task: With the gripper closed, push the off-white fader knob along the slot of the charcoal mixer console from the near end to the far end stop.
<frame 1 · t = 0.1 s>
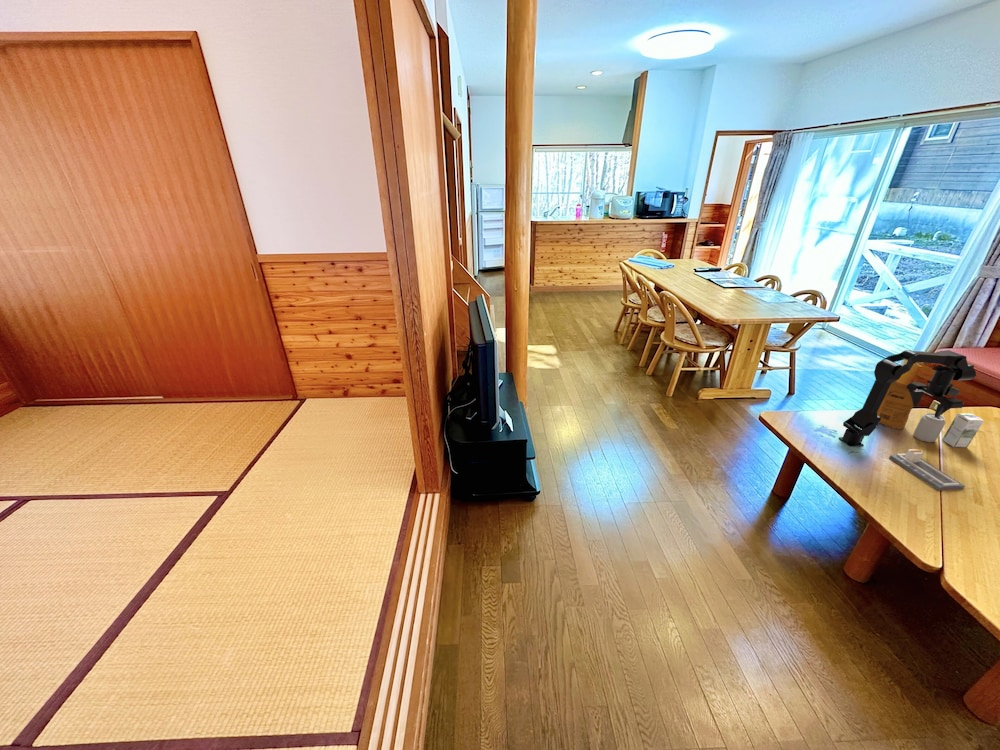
hand: (925, 411, 174), 15 cm above the table, fingers open, 9 cm apart
can: (923, 438, 180), on the table
fader knob: (913, 455, 164), point 4 cm above the table, slide at 0.0 cm
syrup box: (954, 444, 176), on the table
fader console: (924, 472, 160), on the table
coffee package: (886, 422, 193), on the table
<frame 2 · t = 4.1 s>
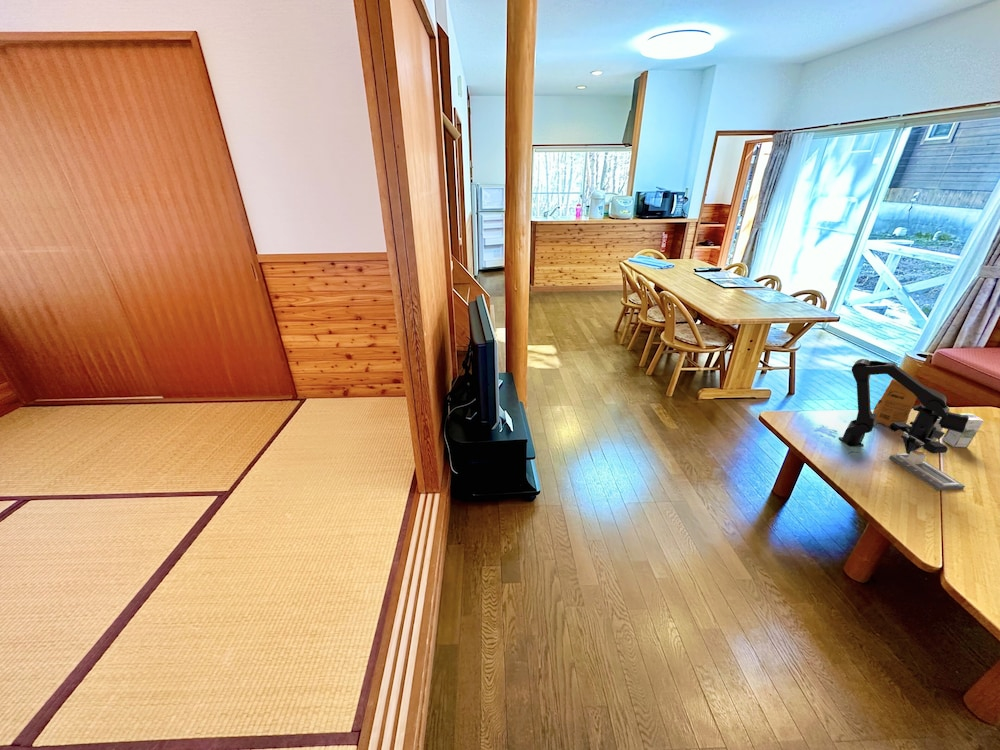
hand: (908, 453, 166), 3 cm above the table, fingers closed
fader knob: (916, 457, 162), point 4 cm above the table, slide at 1.2 cm, touching gripper
everything else where it was.
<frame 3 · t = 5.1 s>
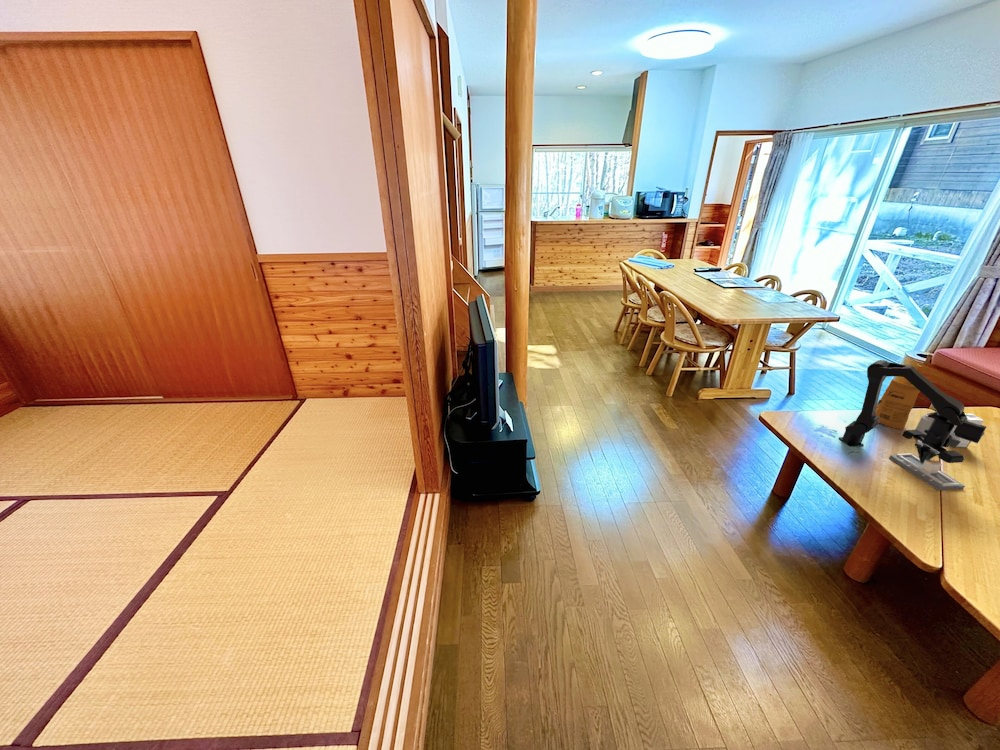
hand: (922, 462, 160), 3 cm above the table, fingers closed
fader knob: (931, 466, 157), point 4 cm above the table, slide at 7.1 cm, touching gripper
everything else where it was.
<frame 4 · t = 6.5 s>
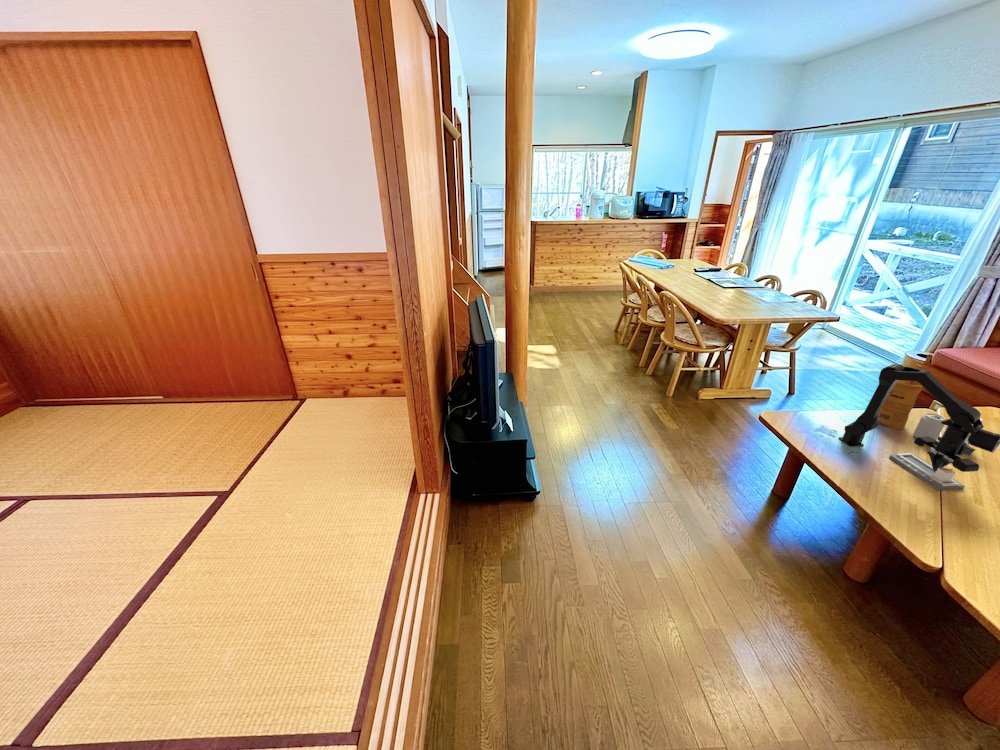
hand: (935, 470, 156), 3 cm above the table, fingers closed
fader knob: (944, 474, 153), point 4 cm above the table, slide at 12.0 cm, touching gripper
everything else where it was.
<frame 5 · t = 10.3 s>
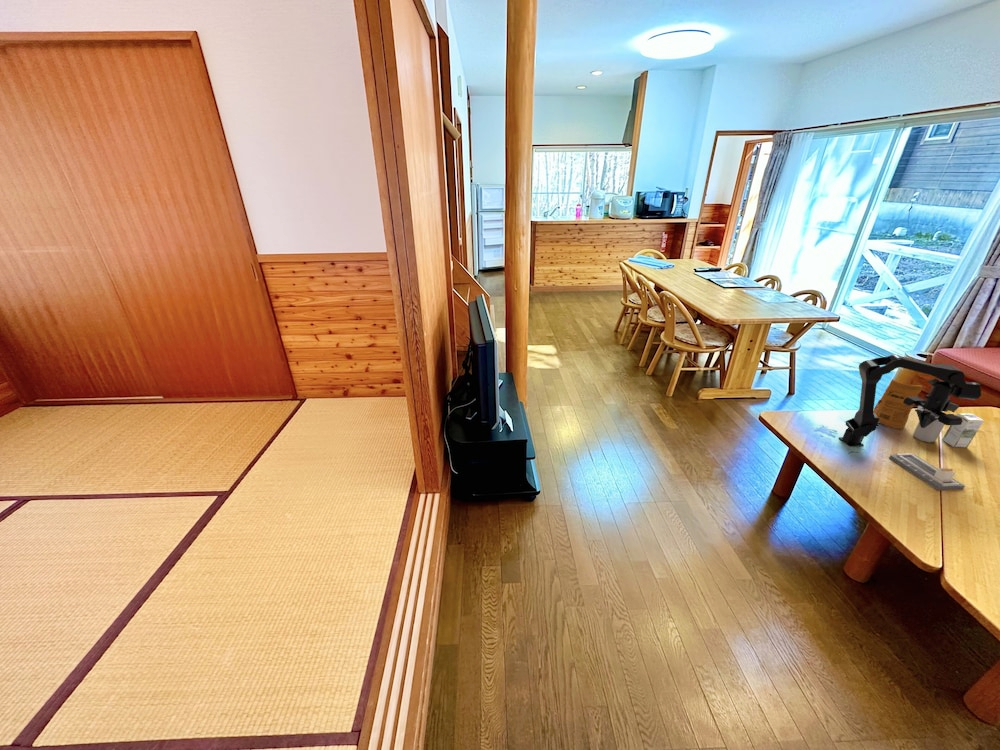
hand: (922, 427, 167), 12 cm above the table, fingers closed
fader knob: (944, 474, 153), point 4 cm above the table, slide at 12.0 cm
everything else where it was.
at the end: fader knob slide at 12.0 cm; the gripper is holding nothing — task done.
